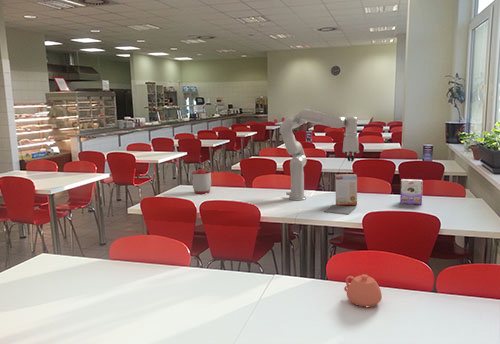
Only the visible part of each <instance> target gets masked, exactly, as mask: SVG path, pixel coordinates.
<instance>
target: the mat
mask: <svg viewBox="0 0 500 344" xmlns="http://www.w3.org/2000/svg"><path fill="white" fill-rule="evenodd" d="M356 208H357V207H355V206H350V205H336V204H332V205H331V206H329V207H328V208H326V209H325V210H324V211H323V212H324V213H330V214H331V213H332V214H341V215H350V214H351V213H352V212H354V210H356Z"/></svg>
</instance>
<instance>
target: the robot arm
mask: <svg viewBox="0 0 500 344" xmlns="http://www.w3.org/2000/svg"><path fill="white" fill-rule="evenodd" d="M305 123H313V124H318V125H320V126H326V127H329V128H333V129H334V128H335V129H340V128H345V132H344V133H343V136H344V137H343V145H342V153H344V154H345V155H346V157H347V162H350V161H351V162H352V163H353V162H354V161H355V155H356V154H359V153H360V149H359V148H360V143H359V137H358V136H357V135H358V128H357V127H358V118H357V117H356V116H334V115H330V114H327V113H324V112H323V111H317V110H313V109H312V110H311V108H302V109H300V110H299V112H298V113H297V114H295V115H293V116H291V117H287V118H285V119H284V120H283V121H282V123H281V125H280V134H281V137H282V140H283V145H284V147H285V150H286V152H287V153H288V154H289V155H290V156H292V158H291V159H290V162H289V168H290V169H289V170H290V192H289V191H286V193H285V194H286V196H289V197H288V199H289V200H291V201H304V200H306V199H307V196H305V172H304V167H305V166H306V164H307V161H308V159H307V157H306V154H305V151H304V148H303V145H302V143H301V142H299V141H297V139H296V138H295V135H294V132H293V129H296V128H299V127H301V125H304V124H305ZM350 152H351V153H350Z"/></svg>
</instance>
